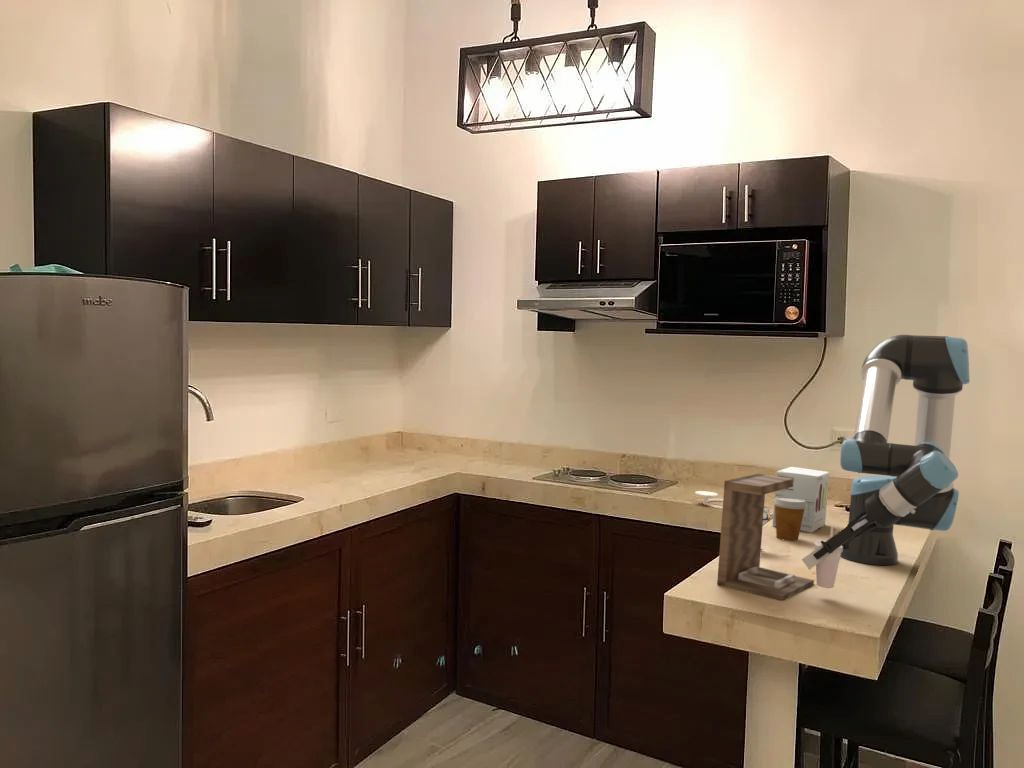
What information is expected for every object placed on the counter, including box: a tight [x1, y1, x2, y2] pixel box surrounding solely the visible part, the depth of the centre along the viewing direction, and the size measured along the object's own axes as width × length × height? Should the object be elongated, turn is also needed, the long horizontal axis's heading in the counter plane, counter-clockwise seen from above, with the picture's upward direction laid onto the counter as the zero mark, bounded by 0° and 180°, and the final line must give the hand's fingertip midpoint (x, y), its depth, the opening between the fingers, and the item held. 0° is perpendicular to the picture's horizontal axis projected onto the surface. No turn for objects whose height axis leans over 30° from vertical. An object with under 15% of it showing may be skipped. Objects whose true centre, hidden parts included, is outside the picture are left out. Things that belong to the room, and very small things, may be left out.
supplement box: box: [772, 466, 831, 533], centre depth 284 cm, size 17×13×18 cm
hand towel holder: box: [695, 490, 723, 510], centre depth 313 cm, size 17×4×20 cm
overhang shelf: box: [716, 473, 815, 601], centre depth 210 cm, size 20×16×25 cm
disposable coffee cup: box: [773, 497, 806, 542], centre depth 263 cm, size 10×10×12 cm
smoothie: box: [813, 525, 843, 589], centre depth 201 cm, size 6×6×14 cm
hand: (811, 561), depth 204 cm, fingers closed on smoothie, 6 cm apart
